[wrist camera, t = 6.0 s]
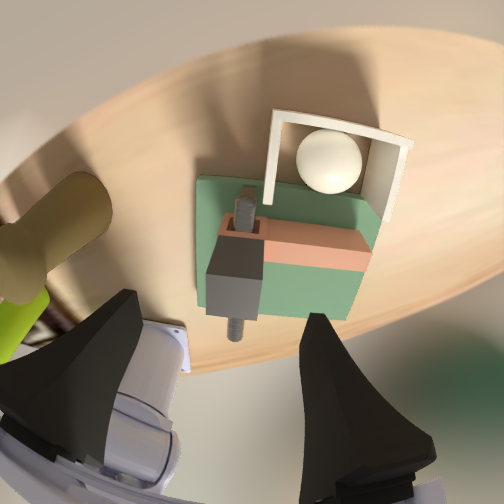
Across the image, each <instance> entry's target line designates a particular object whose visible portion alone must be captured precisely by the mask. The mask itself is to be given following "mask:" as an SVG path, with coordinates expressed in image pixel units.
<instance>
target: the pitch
mask: <svg viewBox="0 0 504 504" xmlns="http://www.w3.org/2000/svg"><path fill="white" fill-rule="evenodd" d="M243 185H249V186H256V191H255V198H257V208H256V216H263V217H267V218H268V219H276V220H285V221H293V222H301V223H309V224H316V225H324V226H331V227H339V228H346V229H353V230H359V231H360V232H361V234H362V236H363V237H364V239H365V241H366V243H367V244H368V246H369V248H370V250H371V251H372V250H373V247H374V244H375V241H376V238H377V235H378V232H379V228H380V225H381V222H382V220H381V219H380V218H379V217H378V215H377V214H376V213H375V212H374V211H373V209H372V208H371V207H370V206H369V205H368V203H367V202H366V201H365V200H364V199H363V197H362V196H361V195H360V194H354V193H349V192H340V193H336V194H325V193H321V192H318V191H316V190H314V189H312V188H311V187H309V186H304V185H297V184H290V183H282V182H275V186H274V194H273V202H272V205H267V204H263V191H264V180H256V179H246V178H236V177H225V176H212V175H200V176H199V177H198V178H197V179H196V271H197V301H198V306H199V307H206V282H205V274H206V271H207V268H208V265H209V262H210V259H211V256H212V253H213V250H214V247H215V245H216V242H217V233H218V231H219V228H220V225H221V223H222V220H223V217H224V215H225V213H234V211H235V198H236V197H237V196H240V195H241V192H242V188H243ZM364 273H365V272H360V271H350V270H341V269H331V268H322V267H312V266H303V265H293V264H284V263H275V262H266V261H264V263H263V281H262V288H261V295H260V302H259V309H258V314H266V315H276V316H287V317H299V318H308V317H309V314H310V312H312V313H325V315H326V316H327V318H328V320H346V318H347V316H348V314H349V311H350V309H351V306H352V304H353V301H354V299H355V296H356V294H357V291H358V289H359V286H360V284H361V281H362V278H363V276H364Z"/></svg>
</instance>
